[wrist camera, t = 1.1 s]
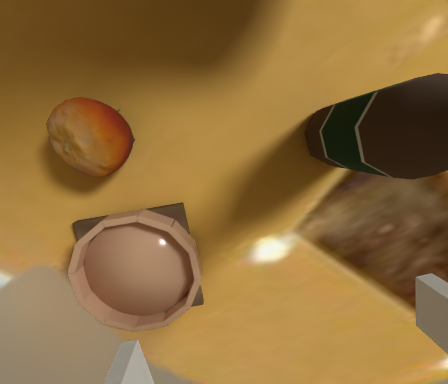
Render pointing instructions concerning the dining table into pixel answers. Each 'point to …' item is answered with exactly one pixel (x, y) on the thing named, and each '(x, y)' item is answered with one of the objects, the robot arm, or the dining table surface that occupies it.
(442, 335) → the robot arm
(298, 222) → the dining table surface
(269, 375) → the dining table surface
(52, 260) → the dining table surface
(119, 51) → the dining table surface
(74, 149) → the fruit
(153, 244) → the bowl
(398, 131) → the beer bottle
